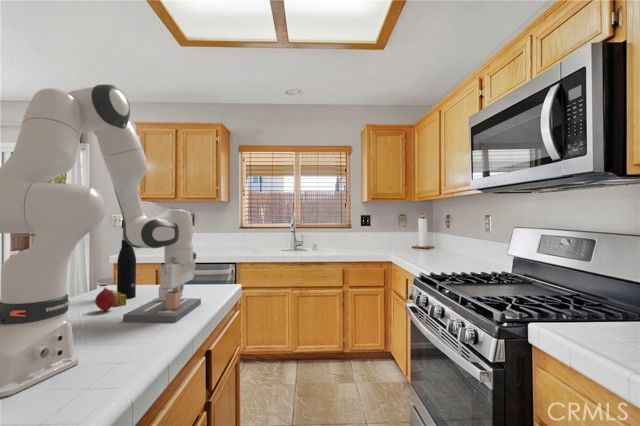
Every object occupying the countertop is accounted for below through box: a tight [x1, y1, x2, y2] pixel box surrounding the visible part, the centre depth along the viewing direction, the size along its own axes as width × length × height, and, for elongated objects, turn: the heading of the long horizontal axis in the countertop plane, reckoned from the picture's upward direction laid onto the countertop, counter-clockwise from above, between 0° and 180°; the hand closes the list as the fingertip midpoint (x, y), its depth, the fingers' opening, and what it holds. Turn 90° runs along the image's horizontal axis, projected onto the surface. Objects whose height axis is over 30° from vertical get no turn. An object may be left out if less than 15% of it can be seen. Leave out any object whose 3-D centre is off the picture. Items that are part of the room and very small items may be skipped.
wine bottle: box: [116, 219, 137, 300], centre depth 139 cm, size 6×6×30 cm
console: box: [122, 297, 202, 323], centre depth 119 cm, size 22×16×2 cm
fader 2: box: [165, 291, 181, 309], centre depth 116 cm, size 4×3×5 cm
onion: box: [94, 286, 116, 312], centre depth 119 cm, size 6×6×8 cm
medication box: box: [109, 289, 127, 307], centre depth 130 cm, size 12×3×4 cm, turn 52°
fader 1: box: [158, 286, 173, 301], centre depth 127 cm, size 4×3×5 cm
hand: (178, 297), depth 120 cm, fingers closed
